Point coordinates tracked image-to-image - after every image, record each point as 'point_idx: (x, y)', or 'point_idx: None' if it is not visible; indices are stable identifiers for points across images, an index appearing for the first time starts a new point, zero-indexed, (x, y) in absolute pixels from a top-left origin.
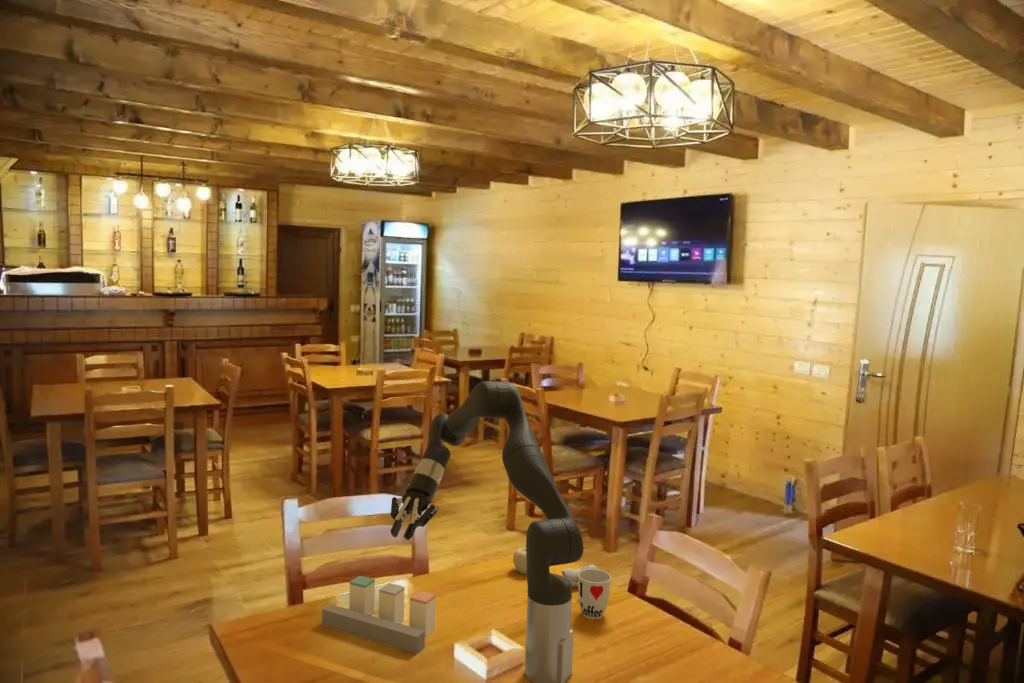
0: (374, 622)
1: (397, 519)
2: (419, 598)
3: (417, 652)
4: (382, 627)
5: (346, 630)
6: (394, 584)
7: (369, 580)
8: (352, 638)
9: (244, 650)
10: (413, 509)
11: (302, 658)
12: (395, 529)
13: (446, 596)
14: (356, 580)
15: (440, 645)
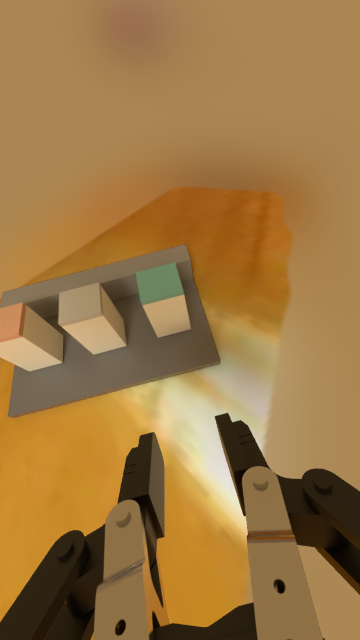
0: (85, 274)
1: (249, 474)
2: (2, 312)
3: None
4: (67, 275)
5: None
6: (85, 315)
7: (146, 291)
8: None
9: (216, 198)
10: (139, 628)
11: (150, 228)
12: (220, 434)
13: None
14: (168, 273)
15: None
